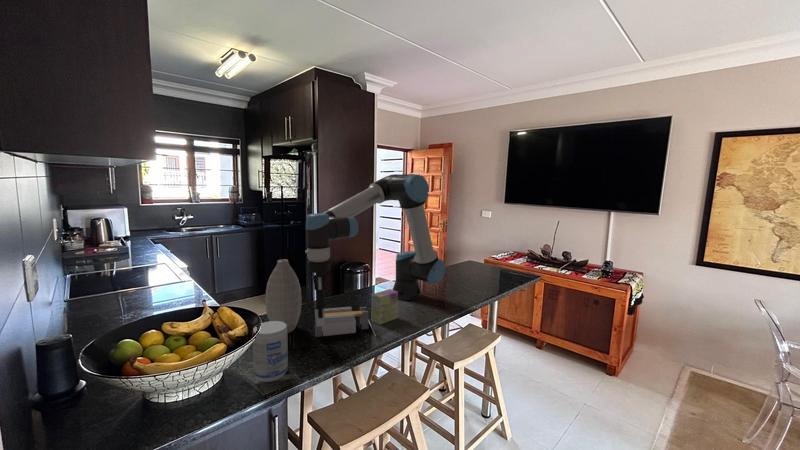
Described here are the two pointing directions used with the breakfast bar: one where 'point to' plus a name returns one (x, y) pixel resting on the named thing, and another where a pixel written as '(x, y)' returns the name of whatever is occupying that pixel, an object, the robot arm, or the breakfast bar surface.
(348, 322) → the base
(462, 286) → the breakfast bar surface
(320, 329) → the lock
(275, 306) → the vase
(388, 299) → the box
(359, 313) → the strap
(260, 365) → the supplement tub
